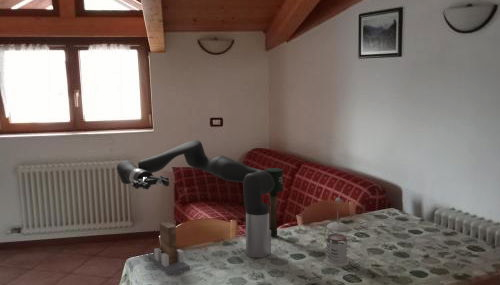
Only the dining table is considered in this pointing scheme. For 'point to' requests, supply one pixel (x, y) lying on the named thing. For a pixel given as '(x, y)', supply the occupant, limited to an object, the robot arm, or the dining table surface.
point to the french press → (336, 244)
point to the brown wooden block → (168, 241)
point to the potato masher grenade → (274, 196)
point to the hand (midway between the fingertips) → (157, 185)
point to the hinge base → (163, 262)
